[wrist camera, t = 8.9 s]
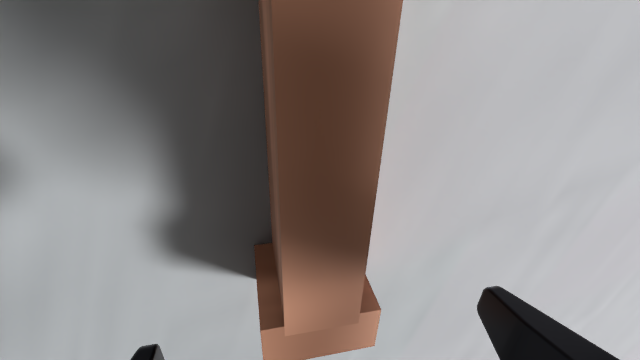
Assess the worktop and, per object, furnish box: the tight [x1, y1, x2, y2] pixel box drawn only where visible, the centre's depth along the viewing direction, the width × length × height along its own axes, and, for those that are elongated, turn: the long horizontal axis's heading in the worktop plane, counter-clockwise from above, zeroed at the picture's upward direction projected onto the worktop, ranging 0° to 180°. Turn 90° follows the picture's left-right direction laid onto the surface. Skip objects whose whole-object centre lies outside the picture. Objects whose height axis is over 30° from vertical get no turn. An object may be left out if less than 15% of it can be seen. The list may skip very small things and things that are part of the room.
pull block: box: [254, 0, 403, 360], centre depth 8 cm, size 5×20×4 cm, turn 179°
